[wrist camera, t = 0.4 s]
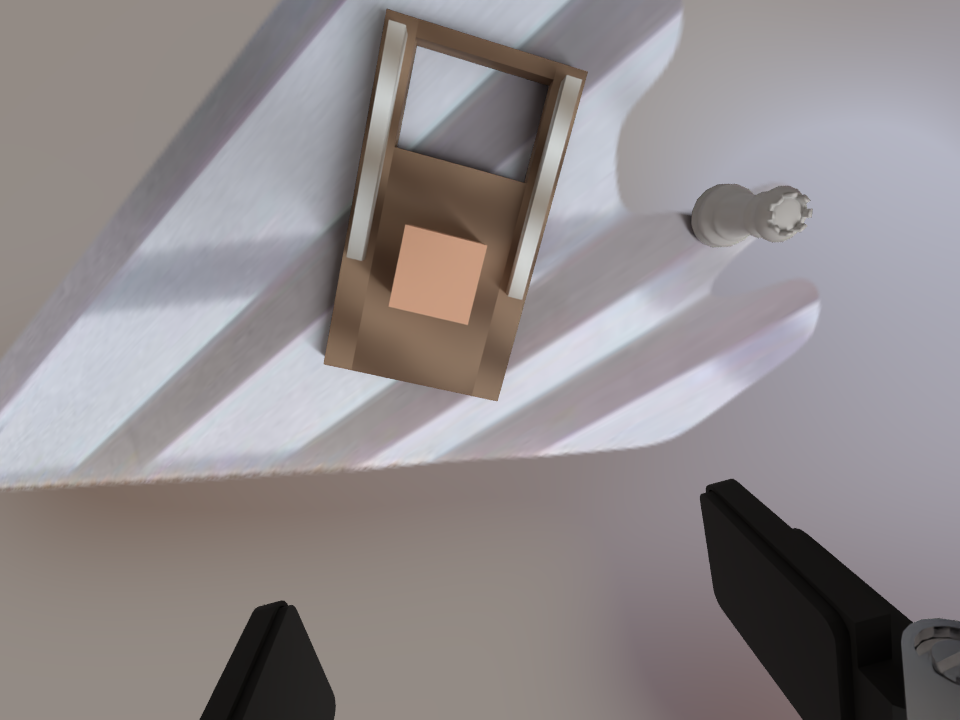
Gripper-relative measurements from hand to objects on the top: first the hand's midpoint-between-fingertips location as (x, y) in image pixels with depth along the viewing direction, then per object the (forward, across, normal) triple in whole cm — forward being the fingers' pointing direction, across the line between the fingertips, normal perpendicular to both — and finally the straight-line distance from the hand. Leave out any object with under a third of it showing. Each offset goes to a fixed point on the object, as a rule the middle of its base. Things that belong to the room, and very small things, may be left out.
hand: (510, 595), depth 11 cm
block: (+26, 0, -5) cm, 26 cm away
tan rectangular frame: (+27, -1, -8) cm, 28 cm away
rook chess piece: (+27, -20, -4) cm, 34 cm away
